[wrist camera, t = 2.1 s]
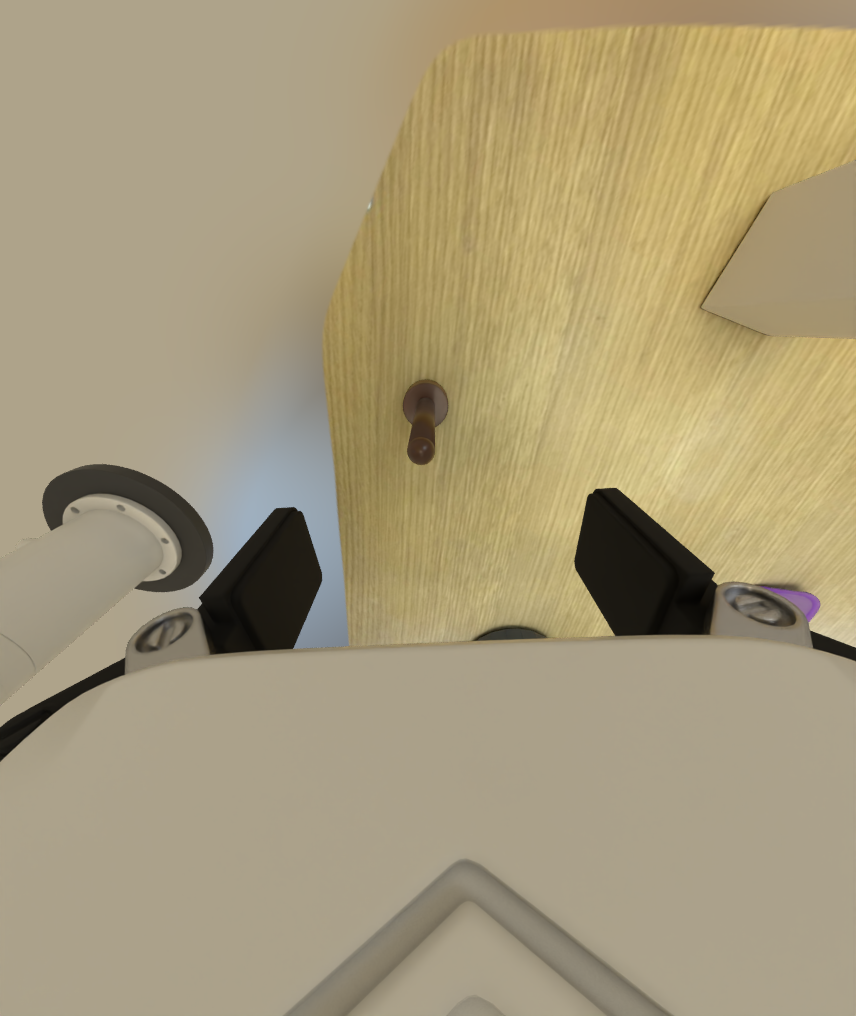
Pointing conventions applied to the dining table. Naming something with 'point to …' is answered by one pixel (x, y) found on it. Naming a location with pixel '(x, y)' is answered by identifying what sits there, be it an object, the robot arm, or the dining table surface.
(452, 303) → the dining table surface
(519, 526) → the dining table surface
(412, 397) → the brown wooden pestle
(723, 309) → the milk carton
